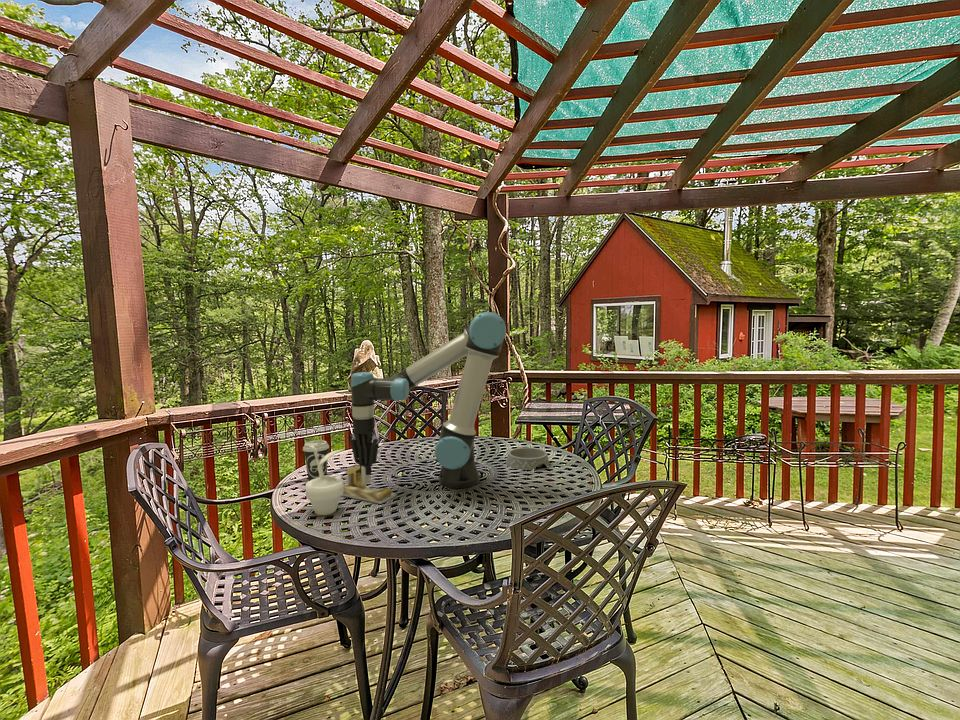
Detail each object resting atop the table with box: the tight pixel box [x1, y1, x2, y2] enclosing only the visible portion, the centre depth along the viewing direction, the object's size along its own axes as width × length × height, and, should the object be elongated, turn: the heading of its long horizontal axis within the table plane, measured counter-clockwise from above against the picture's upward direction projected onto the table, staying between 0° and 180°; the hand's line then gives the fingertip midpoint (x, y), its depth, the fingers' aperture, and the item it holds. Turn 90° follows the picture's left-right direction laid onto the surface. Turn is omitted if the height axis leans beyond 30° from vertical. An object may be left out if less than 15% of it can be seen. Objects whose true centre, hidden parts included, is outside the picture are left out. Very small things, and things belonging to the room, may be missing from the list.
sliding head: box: [346, 464, 367, 489], centre depth 171 cm, size 4×6×8 cm
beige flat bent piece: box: [343, 484, 392, 502], centre depth 167 cm, size 17×8×2 cm, turn 62°
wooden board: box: [342, 487, 397, 505], centre depth 167 cm, size 17×8×1 cm, turn 62°
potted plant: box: [305, 441, 345, 516], centre depth 154 cm, size 13×12×25 cm
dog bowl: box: [505, 446, 550, 470], centre depth 200 cm, size 17×18×5 cm
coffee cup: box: [302, 439, 330, 482], centre depth 183 cm, size 10×10×15 cm
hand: (366, 483), depth 169 cm, fingers closed
